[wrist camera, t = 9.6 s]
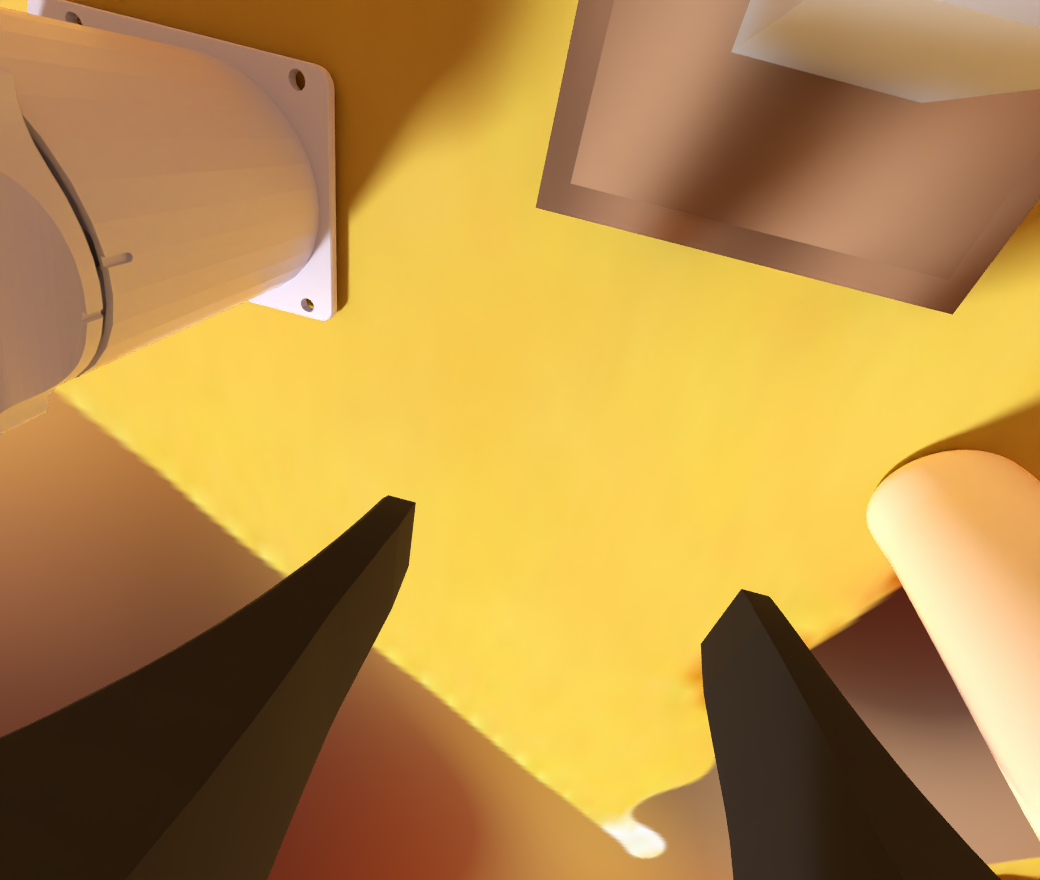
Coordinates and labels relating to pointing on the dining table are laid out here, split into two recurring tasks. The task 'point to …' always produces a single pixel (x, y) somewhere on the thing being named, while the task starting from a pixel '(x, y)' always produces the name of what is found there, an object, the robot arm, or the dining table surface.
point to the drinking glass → (975, 591)
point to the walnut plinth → (783, 156)
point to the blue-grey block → (901, 44)
